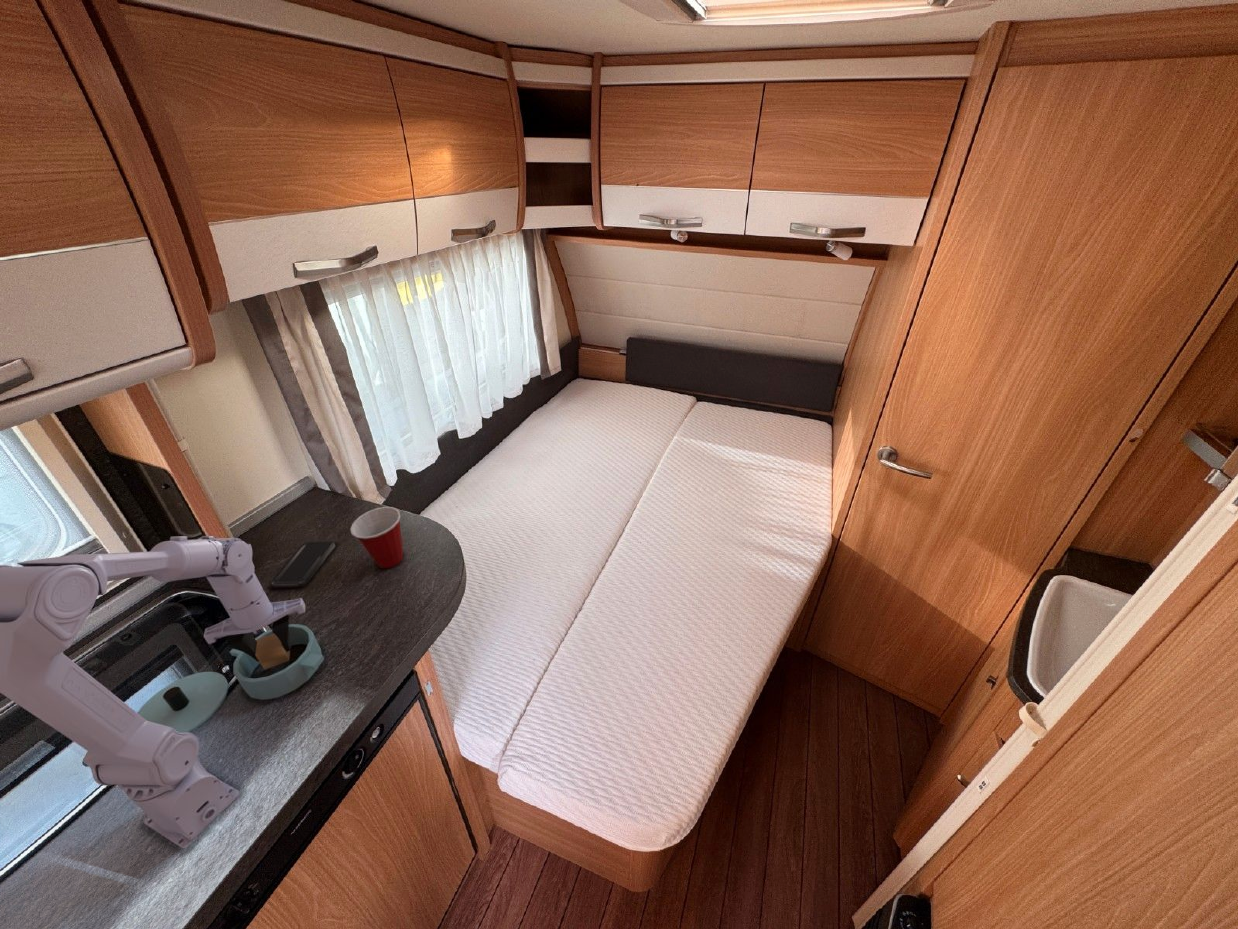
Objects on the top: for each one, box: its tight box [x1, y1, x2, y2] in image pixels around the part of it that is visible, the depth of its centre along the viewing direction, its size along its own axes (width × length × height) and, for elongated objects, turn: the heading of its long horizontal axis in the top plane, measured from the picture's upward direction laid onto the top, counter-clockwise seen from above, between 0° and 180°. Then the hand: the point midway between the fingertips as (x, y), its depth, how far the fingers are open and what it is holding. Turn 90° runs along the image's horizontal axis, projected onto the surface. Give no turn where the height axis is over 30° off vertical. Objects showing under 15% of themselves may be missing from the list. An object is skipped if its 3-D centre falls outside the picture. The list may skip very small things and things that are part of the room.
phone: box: [270, 540, 336, 589], centre depth 121 cm, size 8×1×15 cm
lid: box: [137, 671, 229, 733], centre depth 88 cm, size 14×14×4 cm
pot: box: [229, 623, 325, 701], centre depth 94 cm, size 13×18×5 cm
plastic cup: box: [350, 506, 404, 569], centre depth 118 cm, size 11×11×12 cm
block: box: [255, 634, 291, 671], centre depth 92 cm, size 4×4×4 cm
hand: (274, 652), depth 93 cm, fingers closed on block, 4 cm apart
